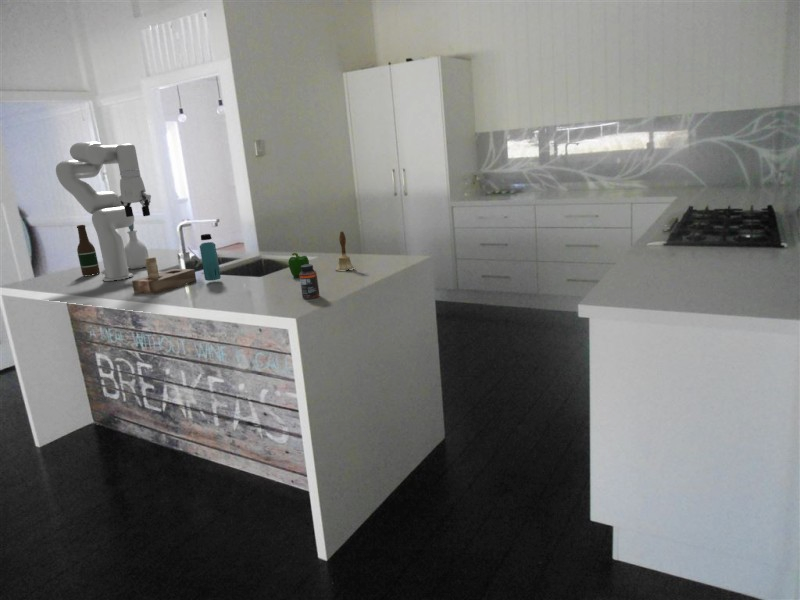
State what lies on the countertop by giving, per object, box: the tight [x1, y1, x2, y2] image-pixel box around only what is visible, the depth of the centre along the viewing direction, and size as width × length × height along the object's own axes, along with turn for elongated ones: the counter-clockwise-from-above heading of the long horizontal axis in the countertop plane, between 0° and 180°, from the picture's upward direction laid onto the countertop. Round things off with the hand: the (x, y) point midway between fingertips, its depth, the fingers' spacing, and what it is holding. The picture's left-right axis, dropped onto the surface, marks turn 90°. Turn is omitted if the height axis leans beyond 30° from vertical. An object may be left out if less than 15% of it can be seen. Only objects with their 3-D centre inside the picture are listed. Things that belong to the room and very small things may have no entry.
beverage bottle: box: [199, 233, 221, 282], centre depth 246 cm, size 6×7×20 cm
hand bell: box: [335, 231, 355, 271], centre depth 250 cm, size 8×8×16 cm
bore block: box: [131, 268, 197, 295], centre depth 247 cm, size 12×22×5 cm, turn 156°
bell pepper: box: [288, 252, 310, 278], centre depth 246 cm, size 8×8×10 cm
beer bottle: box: [76, 224, 101, 276], centre depth 288 cm, size 8×8×24 cm
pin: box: [145, 256, 160, 280], centre depth 241 cm, size 4×4×12 cm
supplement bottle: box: [299, 263, 320, 300], centre depth 208 cm, size 6×6×11 cm
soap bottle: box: [124, 223, 150, 270], centre depth 297 cm, size 10×10×23 cm
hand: (138, 216), depth 254 cm, fingers open, 9 cm apart
